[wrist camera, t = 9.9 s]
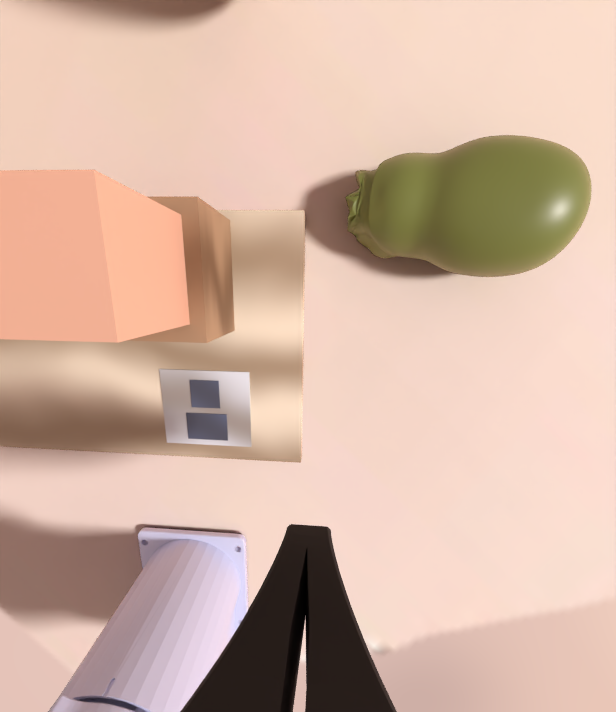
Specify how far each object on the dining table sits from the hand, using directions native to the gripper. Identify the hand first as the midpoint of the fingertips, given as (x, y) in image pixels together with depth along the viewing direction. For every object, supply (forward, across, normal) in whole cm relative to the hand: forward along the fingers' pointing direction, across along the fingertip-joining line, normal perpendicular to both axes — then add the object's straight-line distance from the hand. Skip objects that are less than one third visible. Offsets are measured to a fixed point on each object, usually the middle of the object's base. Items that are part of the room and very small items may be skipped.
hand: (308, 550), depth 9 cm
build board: (+9, +12, -5) cm, 16 cm away
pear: (+10, -6, -12) cm, 17 cm away
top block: (+5, +8, -9) cm, 13 cm away
